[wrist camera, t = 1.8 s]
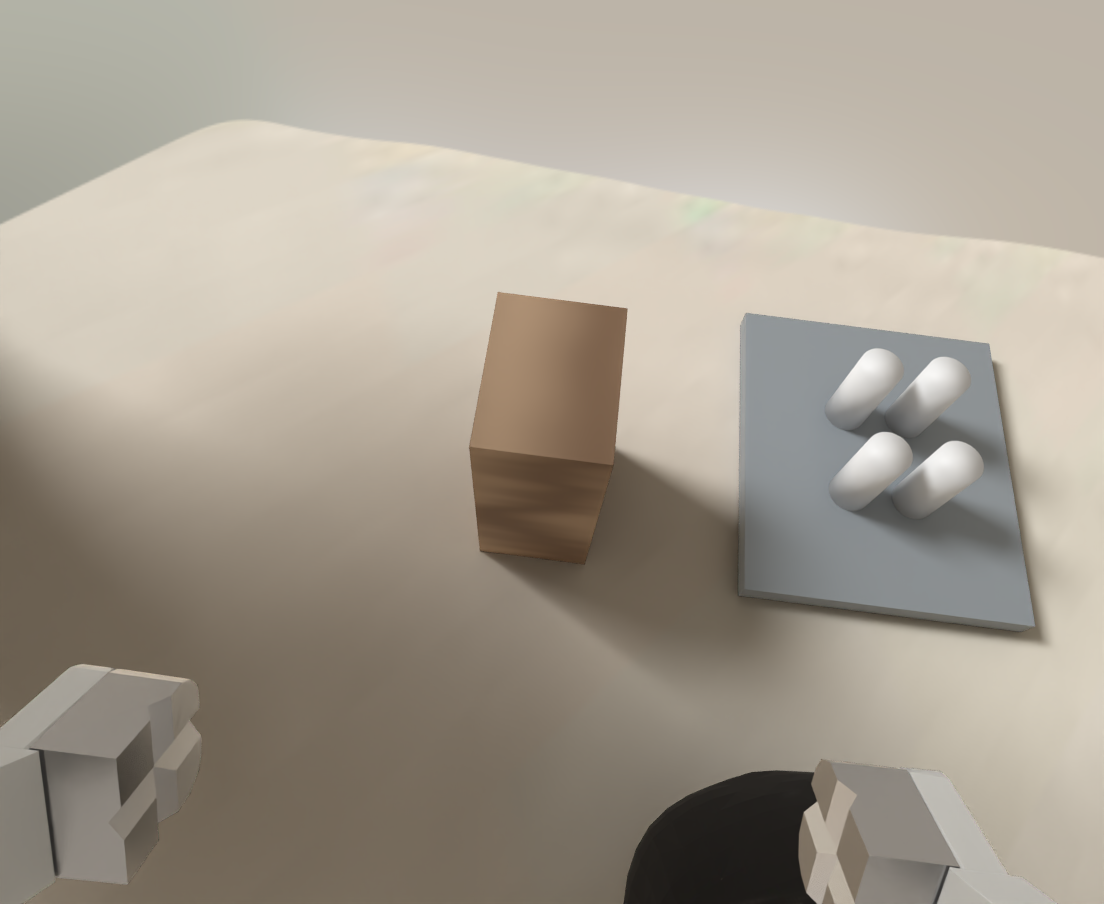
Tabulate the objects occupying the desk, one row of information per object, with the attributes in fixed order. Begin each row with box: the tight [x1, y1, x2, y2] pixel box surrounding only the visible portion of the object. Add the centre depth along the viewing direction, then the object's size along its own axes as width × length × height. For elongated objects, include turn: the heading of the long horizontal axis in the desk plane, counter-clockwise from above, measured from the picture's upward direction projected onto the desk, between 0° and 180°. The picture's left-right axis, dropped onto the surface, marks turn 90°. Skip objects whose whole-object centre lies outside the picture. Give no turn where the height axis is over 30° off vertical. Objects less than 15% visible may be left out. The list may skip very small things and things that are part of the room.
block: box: [469, 292, 627, 564], centre depth 30 cm, size 4×6×10 cm
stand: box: [738, 313, 1035, 632], centre depth 33 cm, size 12×14×5 cm
